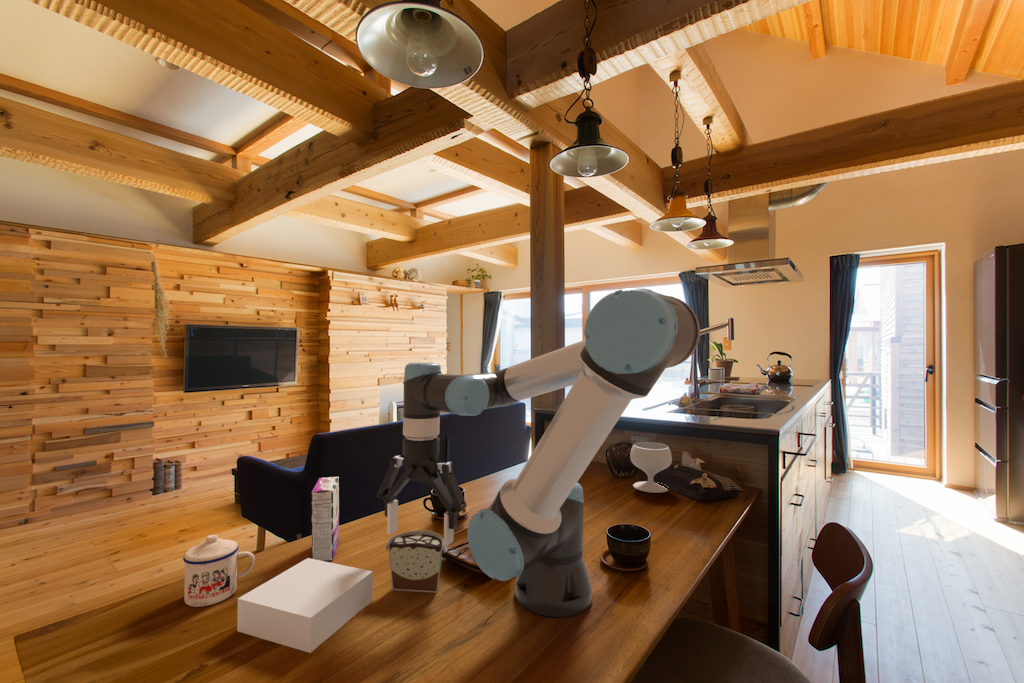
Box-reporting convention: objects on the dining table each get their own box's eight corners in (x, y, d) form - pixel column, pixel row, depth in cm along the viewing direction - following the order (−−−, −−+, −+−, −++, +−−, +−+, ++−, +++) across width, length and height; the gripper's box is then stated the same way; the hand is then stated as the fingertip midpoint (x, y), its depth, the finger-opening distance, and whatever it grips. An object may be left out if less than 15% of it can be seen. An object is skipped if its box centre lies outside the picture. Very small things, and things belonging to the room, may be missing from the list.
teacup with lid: (179, 613, 83) (180, 550, 84) (186, 590, 91) (186, 532, 91) (254, 596, 89) (255, 537, 89) (254, 575, 97) (254, 521, 97)
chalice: (680, 492, 154) (680, 448, 154) (644, 496, 150) (644, 451, 150) (656, 480, 167) (656, 440, 167) (622, 483, 163) (622, 442, 163)
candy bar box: (318, 542, 114) (318, 477, 114) (339, 540, 115) (340, 475, 115) (310, 563, 103) (310, 491, 103) (333, 561, 104) (334, 489, 104)
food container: (451, 577, 97) (452, 530, 97) (444, 593, 91) (444, 543, 91) (396, 574, 98) (396, 528, 98) (385, 589, 92) (385, 540, 92)
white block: (372, 602, 88) (372, 571, 88) (310, 655, 73) (310, 617, 73) (307, 587, 94) (307, 557, 94) (237, 633, 79) (237, 598, 79)
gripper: (483, 438, 94) (481, 540, 94) (382, 428, 103) (381, 521, 103) (466, 446, 87) (465, 556, 87) (360, 434, 96) (359, 534, 96)
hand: (419, 538), depth 95 cm, fingers open, 13 cm apart
